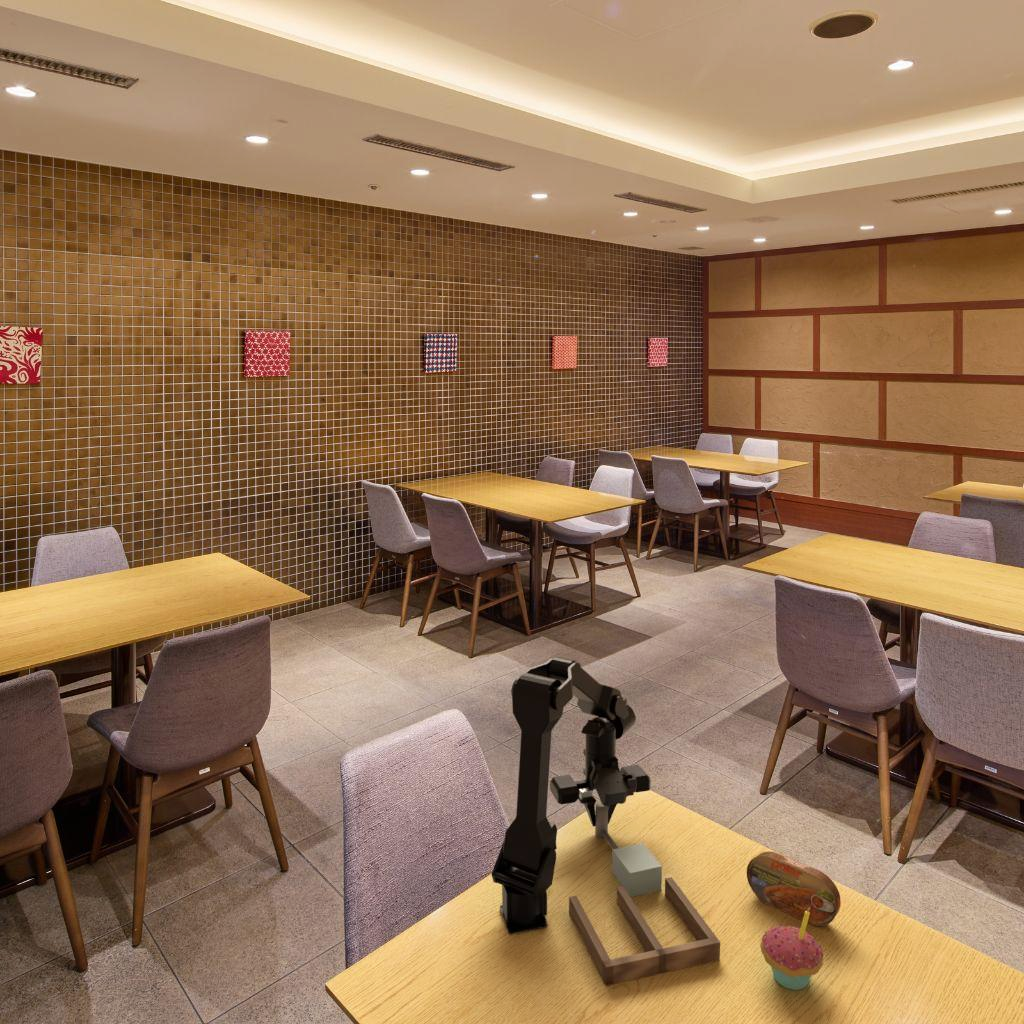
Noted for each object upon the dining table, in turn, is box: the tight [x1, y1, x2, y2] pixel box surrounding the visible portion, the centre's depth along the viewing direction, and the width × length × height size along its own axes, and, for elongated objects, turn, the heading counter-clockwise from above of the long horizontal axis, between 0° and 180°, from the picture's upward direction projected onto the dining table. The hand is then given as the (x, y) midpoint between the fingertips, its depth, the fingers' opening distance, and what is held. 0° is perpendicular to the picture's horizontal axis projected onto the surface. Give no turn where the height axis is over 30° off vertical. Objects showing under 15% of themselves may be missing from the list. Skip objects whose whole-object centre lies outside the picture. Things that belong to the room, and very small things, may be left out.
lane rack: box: [568, 876, 721, 986], centre depth 121 cm, size 18×16×3 cm
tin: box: [746, 850, 842, 927], centre depth 126 cm, size 15×3×8 cm, turn 47°
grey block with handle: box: [594, 801, 663, 898], centre depth 140 cm, size 6×20×6 cm, turn 17°
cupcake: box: [760, 907, 824, 991], centre depth 111 cm, size 9×8×12 cm
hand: (599, 824), depth 149 cm, fingers closed on grey block with handle, 2 cm apart
